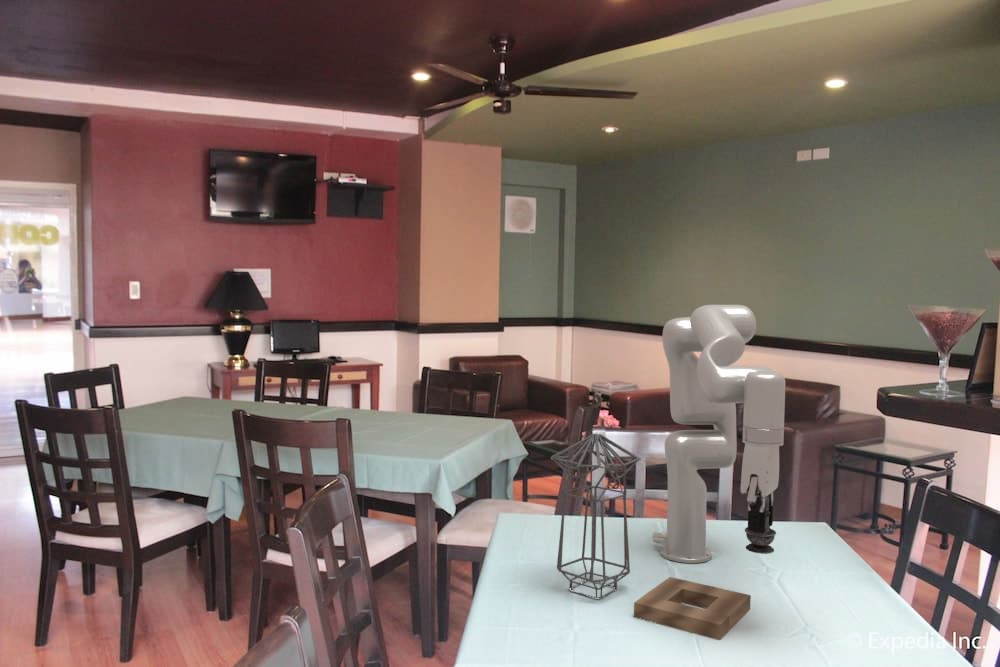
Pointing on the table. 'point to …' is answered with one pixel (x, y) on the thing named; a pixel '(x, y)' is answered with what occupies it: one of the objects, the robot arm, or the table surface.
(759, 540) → the salt shaker
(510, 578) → the table surface
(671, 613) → the stand
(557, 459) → the geometric lantern
